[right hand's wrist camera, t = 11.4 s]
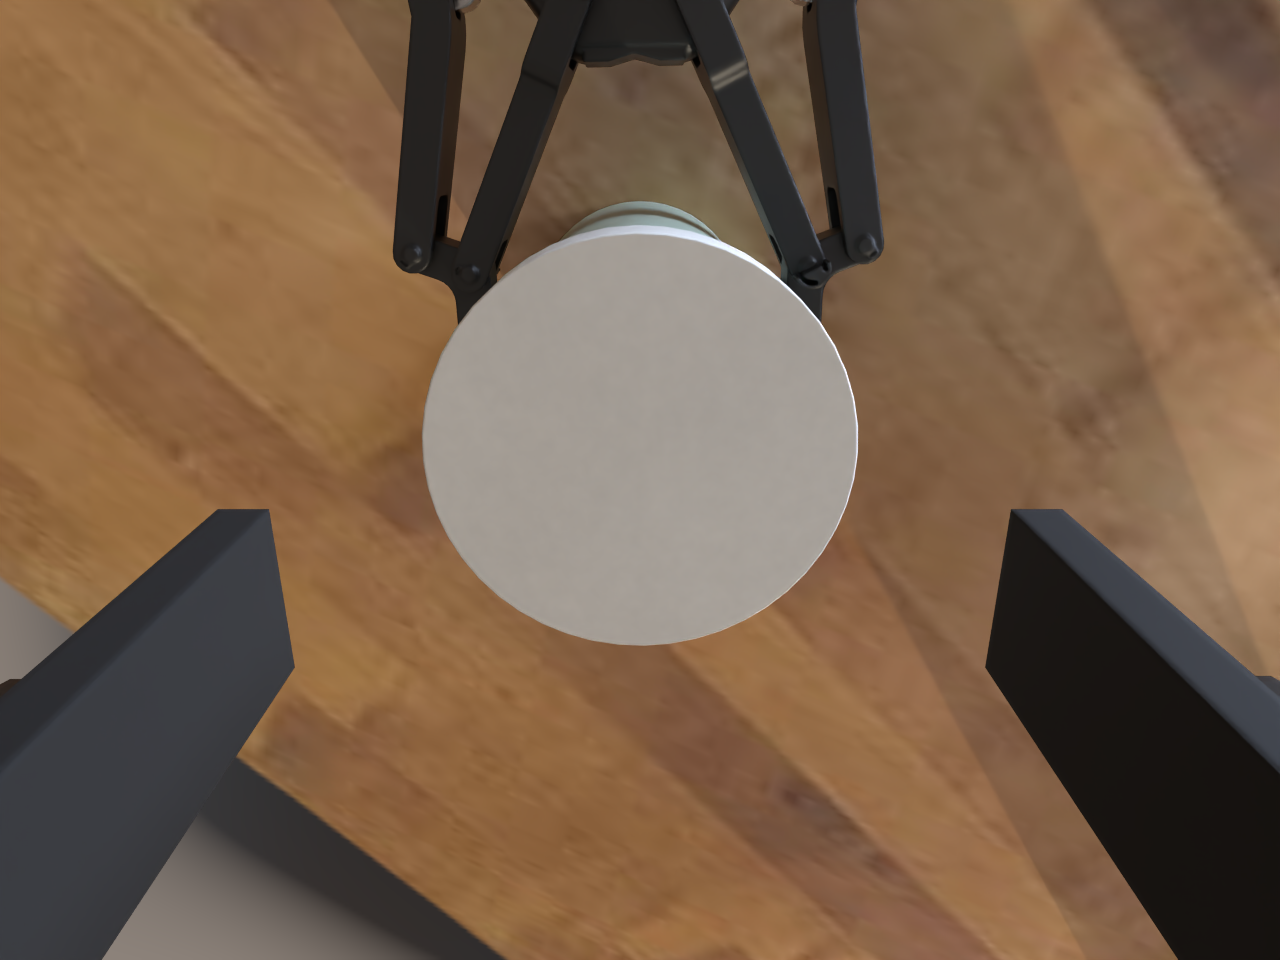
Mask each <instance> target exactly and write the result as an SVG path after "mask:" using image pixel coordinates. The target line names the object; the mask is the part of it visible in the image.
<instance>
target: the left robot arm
mask: <svg viewBox="0 0 1280 960" xmlns="http://www.w3.org/2000/svg"><path fill="white" fill-rule="evenodd" d="M738 1H739V0H525V2H526V3H527V4H528V6H529V7H530V9H531V10H532V11H533V13H534V14H535V16H536V17H537V19H538V22H537V24H536V27H535V30H534V33H533V36H532V38H531V41H530V44H529V47H528V49H527V52H526V55H525V58H524V61H523V64H522V69H521V75H520V78H519V81H518V84H517V87H516V90H515V92H514V95H513V98H512V101H511V103H510V106H509V109H508V112H507V115H506V117H505V120H504V123H503V126H502V128H501V131H500V134H499V137H498V139H497V142H496V145H495V148H494V150H493V153H492V156H491V159H490V161H489V164H488V167H487V170H486V172H485V175H484V178H483V181H482V184H481V186H480V189H479V192H478V195H477V197H476V200H475V203H474V206H473V208H472V211H471V214H470V217H469V219H468V222H467V225H466V228H465V230H464V233H463V236H462V239H461V241H457V240H454V239H451V238H448V237H447V229H448V219H449V209H450V199H451V189H452V179H453V169H454V159H455V149H456V139H457V129H458V119H459V109H460V100H461V90H462V80H463V70H464V60H465V49H466V24H465V14H464V13H468V12H471V11H473V10H474V9H475V8H477V7H478V5H479V4H480V2H481V0H408V3H409V7H410V12H411V16H412V17H411V30H410V42H409V55H408V67H407V80H406V93H405V105H404V118H403V130H402V143H401V155H400V168H399V180H398V193H397V205H396V218H395V230H394V243H393V257H394V260H395V262H396V264H397V266H398V267H399V268H401V269H402V270H403V271H405V272H408V273H420V274H423V275H426V276H428V277H431V278H434V279H437V280H440V281H442V282H444V283H445V284H446V285H448V286H449V288H450V289H451V290H452V292H453V294H454V296H455V300H456V307H457V318H458V325H459V323H460V322H461V321H462V319H463V318H464V317H465V316H466V314H467V313H468V312H469V310H470V309H471V308H472V306H473V305H474V304H475V303H476V302H477V301H478V300H479V299H480V298H481V297H482V296H483V295H484V294H486V293H487V292H488V291H489V290H490V289H491V288H492V287H493V286H494V285H495V284H496V283H497V274H498V272H499V270H500V269H499V266H500V263H501V261H502V258H503V256H504V253H505V250H506V248H507V245H508V242H509V240H510V237H511V235H512V232H513V229H514V227H515V224H516V222H517V219H518V216H519V214H520V211H521V208H522V206H523V203H524V201H525V198H526V195H527V193H528V190H529V187H530V185H531V182H532V180H533V177H534V174H535V172H536V169H537V166H538V164H539V161H540V159H541V156H542V153H543V151H544V148H545V145H546V143H547V140H548V138H549V135H550V132H551V130H552V127H553V124H554V122H555V119H556V117H557V114H558V111H559V109H560V106H561V104H562V101H563V99H564V96H565V95H566V93H567V91H568V89H569V86H570V84H571V81H572V79H573V76H574V73H575V71H576V68H577V66H578V63H581V64H585V65H586V67H612V66H615V65H618V64H621V63H624V62H627V61H631V60H640V61H643V62H647V63H651V64H654V65H658V66H675V65H683V64H684V62H687V61H690V60H691V61H692V63H693V66H694V68H695V70H696V73H697V75H698V77H699V80H700V82H701V84H702V86H703V88H704V90H705V92H706V93H707V95H708V98H709V100H710V102H711V104H712V107H713V109H714V111H715V114H716V116H717V118H718V121H719V123H720V125H721V128H722V130H723V132H724V135H725V137H726V139H727V142H728V144H729V146H730V149H731V151H732V153H733V156H734V158H735V160H736V163H737V165H738V167H739V170H740V172H741V174H742V177H743V179H744V181H745V184H746V186H747V188H748V191H749V193H750V195H751V198H752V200H753V203H754V205H755V207H756V210H757V212H758V214H759V217H760V219H761V221H762V224H763V226H764V228H765V231H766V233H767V235H768V238H769V240H770V242H771V245H772V247H773V249H774V252H775V254H776V256H777V259H778V261H779V263H780V266H781V279H780V278H779V279H780V280H781V281H782V282H783V283H784V284H786V285H787V286H788V287H789V288H790V289H791V290H792V291H793V292H794V293H795V294H796V295H797V296H798V297H799V298H800V299H801V300H802V301H803V302H804V303H805V305H806V306H807V307H808V308H809V309H810V311H811V312H812V313H813V314H814V315H815V317H816V318H817V319H818V320H819V321H820V323H821V316H822V297H823V290H824V287H825V285H826V283H827V281H828V280H829V279H830V278H831V277H832V276H833V275H834V274H836V273H838V272H840V271H843V270H845V269H848V268H851V267H853V266H856V265H858V264H869V263H871V262H874V261H875V260H876V259H877V258H878V257H879V256H880V255H881V253H882V251H883V248H884V237H883V229H882V221H881V212H880V204H879V196H878V187H877V179H876V170H875V162H874V154H873V145H872V137H871V129H870V120H869V112H868V104H867V95H866V87H865V79H864V70H863V62H862V54H861V45H860V37H859V29H858V20H857V12H856V4H857V0H790V1H792V2H793V3H794V4H797V5H800V6H803V26H802V28H803V40H804V48H805V55H806V63H807V70H808V77H809V84H810V91H811V98H812V105H813V112H814V120H815V127H816V134H817V141H818V148H819V155H820V162H821V169H822V176H823V184H824V191H825V198H826V205H827V212H828V219H829V226H830V229H829V230H827V231H824V232H821V233H819V234H816V233H815V231H814V228H813V226H812V223H811V221H810V219H809V216H808V214H807V211H806V209H805V206H804V204H803V201H802V199H801V197H800V194H799V192H798V189H797V187H796V184H795V182H794V179H793V177H792V175H791V172H790V170H789V167H788V165H787V162H786V160H785V157H784V155H783V152H782V150H781V148H780V145H779V143H778V140H777V138H776V135H775V133H774V130H773V128H772V126H771V123H770V121H769V118H768V116H767V113H766V111H765V108H764V106H763V104H762V101H761V99H760V96H759V94H758V91H757V89H756V86H755V84H754V82H753V79H752V77H751V74H750V71H749V67H748V63H747V59H746V56H745V54H744V51H743V49H742V46H741V44H740V41H739V39H738V36H737V34H736V31H735V29H734V26H733V24H732V22H731V19H730V17H729V15H730V14H731V12H732V11H733V9H734V8H735V6H736V4H737V3H738Z"/></svg>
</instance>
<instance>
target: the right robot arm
mask: <svg viewBox="0 0 1280 960" xmlns="http://www.w3.org/2000/svg"><path fill="white" fill-rule="evenodd" d="M294 668H295V666H294V660H293V654H292V648H291V642H290V635H289V629H288V623H287V617H286V611H285V605H284V599H283V593H282V586H281V580H280V574H279V568H278V562H277V556H276V550H275V544H274V538H273V531H272V525H271V519H270V513H269V509H218V510H216V511H215V512H214V513H213V514H212V515H211V516H209V517H208V518H207V519H206V520H205V521H204V522H203V523H201V524H200V525H199V526H198V527H197V528H196V529H194V530H193V531H192V532H191V533H190V534H189V535H187V536H186V537H185V538H184V539H183V540H182V541H181V542H179V543H178V544H177V545H176V546H175V547H174V548H172V549H171V550H170V551H169V552H168V553H167V554H165V555H164V556H163V557H162V558H161V559H160V560H159V561H157V562H156V563H155V564H154V565H153V566H152V567H150V568H149V569H148V570H147V571H146V572H145V573H144V574H142V575H141V576H140V577H139V578H138V579H137V580H135V581H134V582H133V583H132V584H131V585H130V586H128V587H127V588H126V589H125V590H124V591H123V592H122V593H120V594H119V595H118V596H117V597H116V598H115V599H113V600H112V601H111V602H110V603H109V604H108V605H106V606H105V607H104V608H103V609H102V610H101V611H100V612H98V613H97V614H96V615H95V616H94V617H93V618H91V619H90V620H89V621H88V622H87V623H86V624H85V625H83V626H82V627H81V628H80V629H79V630H78V631H76V632H75V633H74V634H73V635H72V636H71V637H69V638H68V639H67V640H66V641H65V642H64V643H63V644H61V645H60V646H59V647H58V648H57V649H56V650H54V651H53V652H52V653H51V654H50V655H49V656H47V657H46V658H45V659H44V660H43V661H42V662H41V663H39V664H38V665H37V666H36V667H35V668H34V669H32V670H31V671H30V672H29V673H28V674H27V675H26V676H24V677H23V678H22V679H9V680H8V681H6V682H4V683H2V684H0V960H102V958H103V957H104V955H105V954H106V952H107V951H108V949H109V948H110V946H111V945H112V943H113V942H114V940H115V939H116V937H117V936H118V934H119V933H120V931H121V930H122V928H123V927H124V925H125V924H126V922H127V921H128V919H129V918H130V916H131V915H132V913H133V912H134V910H135V908H136V907H137V905H138V904H139V902H140V901H141V899H142V898H143V896H144V895H145V893H146V892H147V890H148V889H149V887H150V886H151V884H152V883H153V881H154V880H155V878H156V877H157V875H158V874H159V872H160V871H161V869H162V868H163V866H164V864H165V863H166V862H167V860H168V859H169V857H170V855H171V854H172V852H173V851H174V849H175V848H176V846H177V845H178V843H179V842H180V840H181V839H182V837H183V836H184V834H185V833H186V831H187V830H188V828H189V827H190V825H191V824H192V822H193V821H194V819H195V818H196V816H197V814H198V813H199V811H200V810H201V808H202V807H203V805H204V804H205V802H206V801H207V799H208V798H209V796H210V795H211V793H212V792H213V790H214V789H215V787H216V786H217V784H218V783H219V781H220V780H221V778H222V777H223V775H224V774H225V772H226V771H227V769H228V768H229V766H230V764H231V763H232V762H233V760H234V759H235V757H236V756H237V754H238V752H239V751H240V749H241V748H242V746H243V745H244V743H245V742H246V740H247V739H248V737H249V736H250V734H251V733H252V731H253V730H254V728H255V727H256V725H257V724H258V722H259V721H260V719H261V718H262V716H263V715H264V713H265V712H266V710H267V709H268V707H269V706H270V704H271V702H272V701H273V699H274V698H275V696H276V695H277V693H278V692H279V690H280V689H281V687H282V686H283V684H284V683H285V681H286V680H287V678H288V677H289V675H290V674H291V672H292V671H293V669H294ZM985 668H986V669H987V671H988V672H989V674H990V675H991V677H992V678H993V680H994V681H995V683H996V684H997V686H998V687H999V689H1000V690H1001V692H1002V693H1003V695H1004V696H1005V698H1006V699H1007V701H1008V702H1009V704H1010V706H1011V707H1012V709H1013V710H1014V712H1015V713H1016V715H1017V716H1018V718H1019V719H1020V721H1021V722H1022V724H1023V725H1024V727H1025V728H1026V730H1027V731H1028V733H1029V734H1030V736H1031V737H1032V739H1033V740H1034V742H1035V743H1036V745H1037V746H1038V748H1039V749H1040V751H1041V752H1042V754H1043V756H1044V757H1045V759H1046V760H1047V762H1048V763H1049V765H1050V766H1051V768H1052V769H1053V771H1054V772H1055V774H1056V775H1057V777H1058V778H1059V780H1060V781H1061V783H1062V784H1063V786H1064V787H1065V789H1066V790H1067V792H1068V793H1069V795H1070V796H1071V798H1072V799H1073V801H1074V802H1075V804H1076V805H1077V807H1078V809H1079V810H1080V812H1081V813H1082V815H1083V816H1084V818H1085V819H1086V821H1087V822H1088V824H1089V825H1090V827H1091V828H1092V830H1093V831H1094V833H1095V834H1096V836H1097V837H1098V839H1099V840H1100V842H1101V843H1102V845H1103V846H1104V848H1105V849H1106V851H1107V852H1108V854H1109V855H1110V857H1111V859H1112V860H1113V862H1114V863H1115V865H1116V866H1117V868H1118V869H1119V871H1120V872H1121V874H1122V875H1123V877H1124V878H1125V880H1126V881H1127V883H1128V884H1129V886H1130V887H1131V889H1132V890H1133V892H1134V893H1135V895H1136V896H1137V898H1138V899H1139V901H1140V902H1141V904H1142V905H1143V907H1144V908H1145V910H1146V912H1147V913H1148V915H1149V916H1150V918H1151V919H1152V921H1153V922H1154V924H1155V925H1156V927H1157V928H1158V930H1159V931H1160V933H1161V934H1162V936H1163V937H1164V939H1165V940H1166V942H1167V943H1168V945H1169V946H1170V948H1171V949H1172V951H1173V952H1174V954H1175V955H1176V957H1177V958H1178V960H1280V681H1279V680H1277V679H1275V678H1273V677H1271V676H1254V675H1253V674H1252V673H1251V672H1250V671H1249V670H1248V669H1246V668H1245V667H1244V666H1243V665H1242V664H1241V663H1239V662H1238V661H1237V660H1236V659H1235V658H1234V657H1233V656H1231V655H1230V654H1229V653H1228V652H1227V651H1226V650H1224V649H1223V648H1222V647H1221V646H1220V645H1219V644H1217V643H1216V642H1215V641H1214V640H1213V639H1212V638H1211V637H1209V636H1208V635H1207V634H1206V633H1205V632H1204V631H1202V630H1201V629H1200V628H1199V627H1198V626H1197V625H1195V624H1194V623H1193V622H1192V621H1191V620H1190V619H1189V618H1187V617H1186V616H1185V615H1184V614H1183V613H1182V612H1180V611H1179V610H1178V609H1177V608H1176V607H1175V606H1174V605H1172V604H1171V603H1170V602H1169V601H1168V600H1167V599H1165V598H1164V597H1163V596H1162V595H1161V594H1160V593H1158V592H1157V591H1156V590H1155V589H1154V588H1153V587H1152V586H1150V585H1149V584H1148V583H1147V582H1146V581H1145V580H1143V579H1142V578H1141V577H1140V576H1139V575H1138V574H1136V573H1135V572H1134V571H1133V570H1132V569H1131V568H1130V567H1128V566H1127V565H1126V564H1125V563H1124V562H1123V561H1121V560H1120V559H1119V558H1118V557H1117V556H1116V555H1115V554H1113V553H1112V552H1111V551H1110V550H1109V549H1108V548H1106V547H1105V546H1104V545H1103V544H1102V543H1101V542H1099V541H1098V540H1097V539H1096V538H1095V537H1094V536H1093V535H1091V534H1090V533H1089V532H1088V531H1087V530H1086V529H1084V528H1083V527H1082V526H1081V525H1080V524H1079V523H1077V522H1076V521H1075V520H1074V519H1073V518H1072V517H1071V516H1069V515H1068V514H1067V513H1066V512H1065V511H1064V510H1062V509H1011V513H1010V519H1009V525H1008V531H1007V538H1006V544H1005V550H1004V556H1003V562H1002V568H1001V574H1000V580H999V586H998V593H997V599H996V605H995V611H994V617H993V623H992V629H991V635H990V642H989V648H988V654H987V660H986V666H985Z"/></svg>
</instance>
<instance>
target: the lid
mask: <svg viewBox="0 0 1280 960" xmlns="http://www.w3.org/2000/svg"><path fill="white" fill-rule="evenodd" d="M422 447H423V463H424V468H425V474H426V479H427V485H428V489H429V492H430V495H431V498H432V501H433V504H434V507H435V510H436V513H437V515H438V517H439V519H440V521H441V523H442V525H443V528H444V530H445V532H446V534H447V536H448V538H449V539H450V541H451V542H452V544H453V545H454V547H455V548H456V550H457V551H458V553H459V554H460V556H461V557H462V559H463V560H464V561H465V562H466V564H467V565H468V566H469V567H470V568H471V569H472V571H473V572H474V573H475V574H476V575H477V576H478V578H479V579H480V580H481V581H483V582H484V583H485V584H486V585H487V586H488V587H489V588H490V589H491V590H492V591H493V592H495V593H496V594H497V595H498V596H499V597H500V598H502V599H503V600H505V601H506V602H507V603H509V604H510V605H512V606H513V607H514V608H516V609H517V610H519V611H520V612H522V613H524V614H526V615H527V616H529V617H531V618H533V619H535V620H537V621H538V622H540V623H542V624H544V625H547V626H549V627H552V628H554V629H557V630H559V631H562V632H564V633H567V634H570V635H574V636H578V637H581V638H585V639H588V640H592V641H599V642H605V643H612V644H618V645H658V644H670V643H676V642H681V641H686V640H691V639H696V638H700V637H703V636H706V635H709V634H712V633H716V632H719V631H722V630H724V629H726V628H728V627H731V626H733V625H735V624H737V623H740V622H742V621H744V620H746V619H747V618H749V617H751V616H753V615H754V614H756V613H758V612H759V611H761V610H763V609H764V608H766V607H767V606H769V605H770V604H771V603H773V602H774V601H775V600H777V599H778V598H779V597H780V596H782V595H783V594H784V593H786V592H787V591H788V590H789V589H790V588H791V587H792V586H793V585H794V584H795V583H796V582H797V581H798V580H799V579H800V578H801V577H802V576H803V575H804V574H805V573H806V572H807V571H808V570H809V568H810V567H811V566H812V565H813V563H814V562H815V561H816V560H817V558H818V557H819V556H820V555H821V553H822V552H823V550H824V549H825V547H826V545H827V544H828V542H829V540H830V539H831V537H832V535H833V534H834V532H835V530H836V528H837V526H838V524H839V521H840V519H841V517H842V514H843V512H844V510H845V508H846V505H847V502H848V498H849V495H850V491H851V488H852V484H853V481H854V475H855V468H856V461H857V454H858V424H857V417H856V410H855V402H854V397H853V393H852V390H851V386H850V383H849V379H848V376H847V372H846V370H845V367H844V365H843V363H842V361H841V358H840V356H839V354H838V352H837V349H836V347H835V345H834V344H833V342H832V340H831V339H830V337H829V336H828V334H827V332H826V331H825V329H824V328H823V326H822V324H821V323H820V321H819V320H818V319H817V318H816V317H815V315H814V314H813V313H812V312H811V311H810V309H809V308H808V307H807V306H806V305H805V303H804V302H803V301H802V300H801V299H800V298H799V297H798V296H797V295H796V294H795V293H794V292H793V291H792V290H791V289H790V288H789V287H788V286H787V285H786V284H784V283H783V282H782V281H781V280H780V279H779V278H778V277H777V276H775V275H774V274H773V273H772V272H771V271H770V270H769V269H768V268H766V267H765V266H763V265H762V264H760V263H759V262H757V261H756V260H754V259H753V258H751V257H750V256H748V255H747V254H745V253H744V252H742V251H740V250H738V249H736V248H734V247H732V246H729V245H727V244H725V243H723V242H721V241H719V240H716V239H713V238H710V237H707V236H704V235H701V234H698V233H695V232H692V231H686V230H681V229H676V228H670V227H665V226H645V225H631V226H619V227H608V228H603V229H599V230H594V231H590V232H586V233H581V234H578V235H575V236H572V237H570V238H567V239H565V240H562V241H559V242H557V243H554V244H552V245H550V246H548V247H546V248H544V249H543V250H541V251H539V252H537V253H535V254H533V255H532V256H530V257H528V258H527V259H525V260H524V261H522V262H521V263H520V264H518V265H517V266H516V267H514V268H513V269H512V270H510V271H509V272H508V273H506V274H505V275H504V276H503V277H502V278H501V279H500V280H499V281H498V282H497V283H496V284H495V285H494V286H493V287H492V288H491V289H490V290H489V291H488V292H487V293H486V294H484V295H483V296H482V297H481V298H480V299H479V300H478V301H477V302H476V303H475V304H474V305H473V306H472V308H471V309H470V310H469V312H468V313H467V314H466V316H465V317H464V318H463V319H462V321H461V322H460V323H459V325H458V326H457V327H456V328H455V330H454V332H453V334H452V335H451V337H450V339H449V341H448V343H447V344H446V346H445V348H444V350H443V351H442V353H441V355H440V358H439V360H438V363H437V366H436V368H435V371H434V373H433V376H432V378H431V381H430V386H429V390H428V394H427V398H426V402H425V407H424V417H423V428H422Z"/></svg>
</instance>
